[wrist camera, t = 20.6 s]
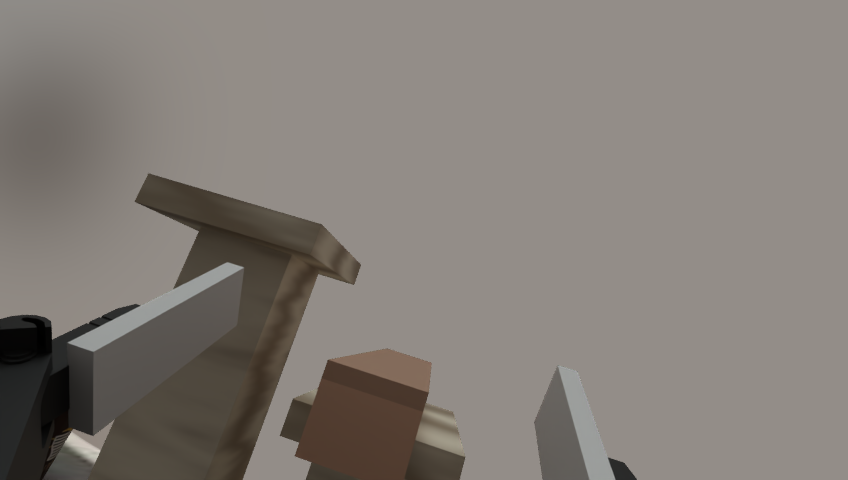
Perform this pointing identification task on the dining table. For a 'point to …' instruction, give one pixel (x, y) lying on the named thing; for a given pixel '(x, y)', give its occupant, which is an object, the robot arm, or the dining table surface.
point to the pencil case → (367, 414)
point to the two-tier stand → (245, 352)
